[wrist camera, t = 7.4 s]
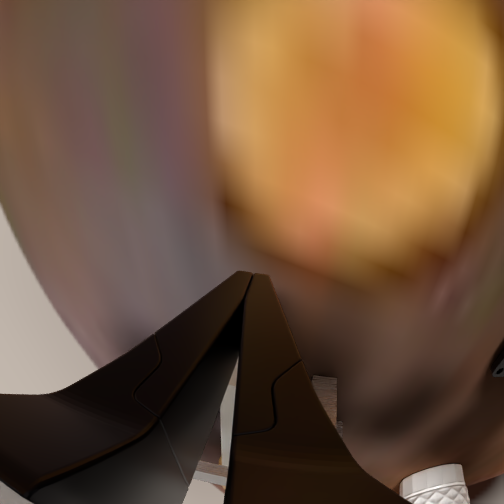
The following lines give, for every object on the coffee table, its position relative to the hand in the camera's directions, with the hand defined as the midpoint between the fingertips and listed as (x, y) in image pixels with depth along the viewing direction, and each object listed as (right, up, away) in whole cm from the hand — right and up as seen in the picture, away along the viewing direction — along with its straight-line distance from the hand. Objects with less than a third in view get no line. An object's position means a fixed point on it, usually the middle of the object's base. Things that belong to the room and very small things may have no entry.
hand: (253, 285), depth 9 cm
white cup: (+18, -21, +13) cm, 31 cm away
